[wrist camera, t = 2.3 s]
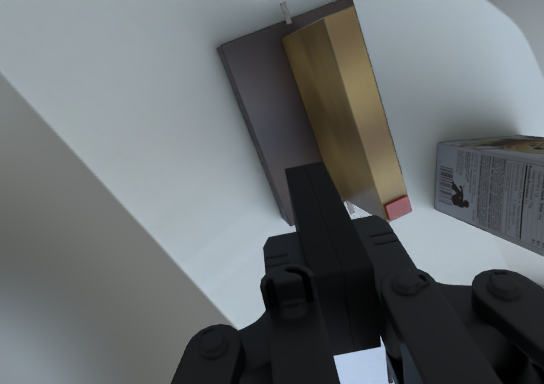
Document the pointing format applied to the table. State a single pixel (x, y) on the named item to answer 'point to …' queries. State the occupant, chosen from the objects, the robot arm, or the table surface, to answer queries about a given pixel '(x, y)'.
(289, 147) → the lock plate
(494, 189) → the coffee box
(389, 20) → the table surface
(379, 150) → the tan flat piece
